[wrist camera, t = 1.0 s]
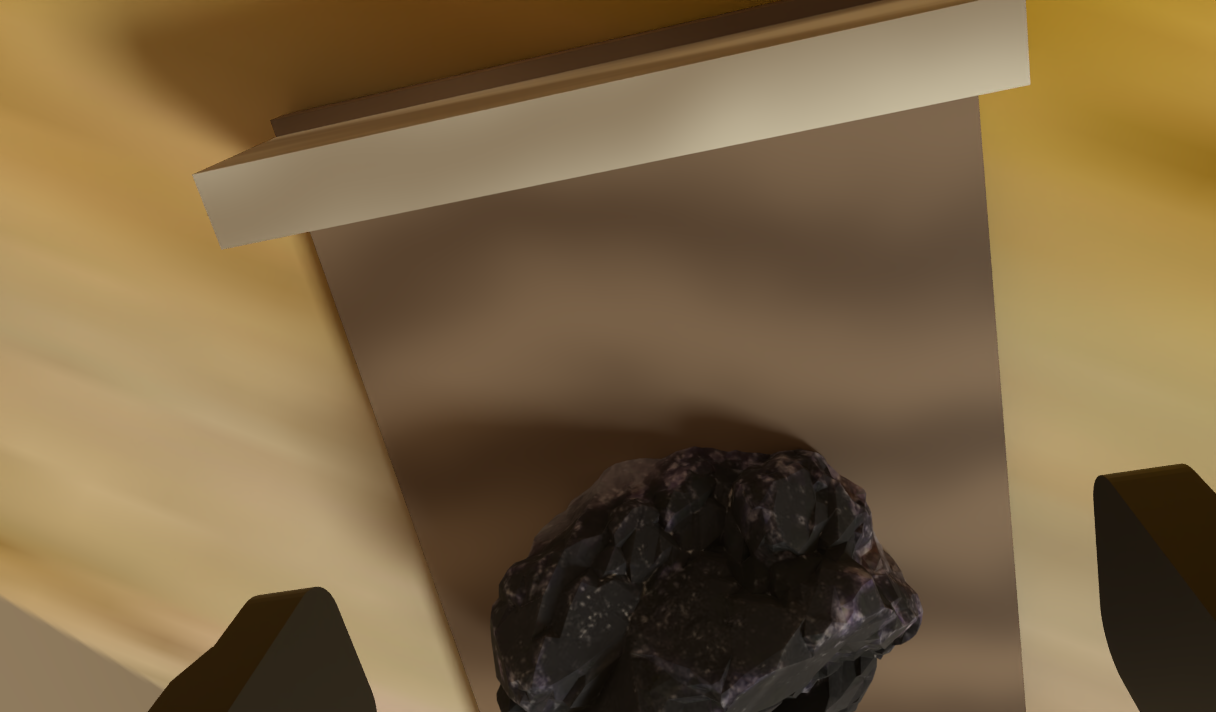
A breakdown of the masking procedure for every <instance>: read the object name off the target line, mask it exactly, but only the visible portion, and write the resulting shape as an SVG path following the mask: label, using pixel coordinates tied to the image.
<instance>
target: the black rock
mask: <svg viewBox="0 0 1216 712" xmlns="http://www.w3.org/2000/svg"><path fill="white" fill-rule="evenodd" d="M922 616H923V608H922V605H921V602H920V599H919V596H918V594H917V593H916V592H915V591H914V590H913V589H912V588H911V587H910V586H909V585H908V584H907V583H906V580H905V578H904V577H903V573H902V571H901V570H900V568H899V567H898V565H897V563H896V562H895V560H894V559H893V558H892V557H891V556H890V555H889V554H888V553H887V552H884V550H883V548H882V545H881V544H880V542H879V541H878V539H877V537H876V535H875V532H874V531H873V523H872V513H871V510H870V508H869V506H868V504H867V502H866V492H865V490H864V489H863V488H862V487H860V486H858V485H856V484H855V483H853V482H852V481H850V480H848V479H847V478H845V477H843V476H841V475H839V474H838V473H837V472H836V471H835V470H834V469H833V468H832V467H831V466H830V465H829V464H827V462H826V460H825V458H824V457H823V456H822V455H820V454H819V453H816V452H812V451H807V450H802V449H797V450H788V451H779V452H776V453H773V454H763V453H750V452H742V451H738V450H733V451H730V452H726V451H721V450H718V449H714V448H701V447H697V446H694V447H690V448H687V449H683V450H679V451H676V452H674V453H672V454H670V455H668V456H667V457H665V458H662V459H651V458H639V459H633V460H627V461H623V462H620V463H616V464H614V465H612V466H611V467H609V468H607V469H606V470H604V472H603V473H602V474H601V476H600V477H599V479H598V480H597V481H596V482H595V483H594V484H593V485H592V486H591V487H590V488H589V489H587V490H586V491H585V492H583V493H582V494H581V495H579V496H578V497H576V498H575V499H573V500H572V501H571V502H570V504H569V506H568V508H567V509H566V511H564V512H562V513H560V514H558V515H556V516H555V517H554V518H553V519H552V520H551V521H550V522H549V523H548V524H546V525H545V526H544V527H543V528H542V529H541V530H540V531H539V533H538V534H537V535H536V536H535V538H534V540H533V543H532V546H531V549H530V552H529V555H528V557H527V558H526V559H524V560H521V561H518V562H516V563H514V564H513V565H512V566H511V567H510V568H509V569H508V570H507V572H506V573H505V575H504V577H503V578H502V580H501V582H500V583H499V598H498V599H497V600H496V601H495V602H494V604H493V605H492V610H491V616H490V630H491V642H492V649H493V657H494V664H495V671H496V678H497V679H498V681H499V682H500V686H499V689H498V691H497V693H496V697H497V702H498V705H499V708H500V711H501V712H854V711H856V709H857V706H858V703H860V702H861V700H862V698H863V696H864V694H865V693H866V691H867V689H868V687H869V686H870V684H871V682H872V680H873V678H874V675H875V671H876V668H877V658H878V659H880V660H881V659H882V657H883V655H885V654H887V653H890V652H891V650H892V649H893V648H894V646H895V645H901V644H903V643H905V642H907V641H909V640H910V639H912V638H913V637H914V636H915V635H916V634H917V632H918V630H919V628H920V625H921V622H922Z"/></svg>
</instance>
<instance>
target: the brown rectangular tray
mask: <svg viewBox="0 0 1216 712" xmlns="http://www.w3.org/2000/svg"><path fill="white" fill-rule="evenodd" d="M1026 85H1030V70H1029V52H1028V35H1027V17H1026V0H781V1H777V2H773V3H768V4H764V5H760V6H755V7H751V8H747V9H742V10H738V11H733V12H729V13H725V14H720V15H716V16H712V17H707V18H703V19H699V20H694V21H690V22H686V23H681V24H677V25H673V26H668V27H664V28H660V29H655V30H651V31H647V32H642V33H638V34H634V35H629V36H625V37H620V38H616V39H612V40H607V41H603V42H599V43H594V44H590V45H586V46H581V47H577V48H573V49H568V50H564V51H560V52H555V53H551V54H547V55H542V56H538V57H534V58H529V59H525V60H520V61H516V62H512V63H507V64H503V65H499V66H494V67H490V68H486V69H481V70H477V71H473V72H468V73H464V74H460V75H455V76H451V77H447V78H442V79H438V80H434V81H429V82H425V83H420V84H416V85H412V86H407V87H403V88H399V89H394V90H390V91H386V92H381V93H377V94H373V95H368V96H364V97H360V98H355V99H351V100H347V101H342V102H338V103H334V104H329V105H325V106H321V107H316V108H312V109H307V110H303V111H299V112H294V113H290V114H286V115H283V116H280V117H278V118H275V119H273V120H270V121H271V124H272V126H273V129H274V132H275V135H276V137H275V138H273V139H271V140H269V141H266V142H264V143H262V144H260V145H257V146H255V147H253V148H251V149H248V150H246V151H244V152H242V153H240V154H237V155H235V156H233V157H231V158H228V159H226V160H224V161H222V162H219V163H217V164H215V165H213V166H210V167H208V168H206V169H204V170H202V171H199V172H197V173H195V174H193V175H192V176H193V178H194V181H195V183H196V186H197V188H198V191H199V193H200V196H201V198H202V201H203V204H204V206H205V209H206V211H207V214H208V216H209V219H210V221H211V224H212V226H213V229H214V232H215V234H216V237H217V239H218V242H219V244H220V247H221V249H227V248H232V247H237V246H241V245H246V244H251V243H256V242H261V241H266V240H271V239H276V238H281V237H286V236H290V235H295V234H300V233H305V232H310V234H311V237H312V239H313V242H314V245H315V248H316V251H317V254H318V256H319V259H320V262H321V265H322V268H323V270H324V273H325V276H326V279H327V282H328V285H329V287H330V290H331V293H332V296H333V299H334V302H335V304H336V307H337V310H338V313H339V316H340V318H341V321H342V324H343V327H344V330H345V333H346V335H347V338H348V341H349V344H350V347H351V350H352V352H353V355H354V358H355V361H356V364H357V366H358V369H359V372H360V375H361V378H362V381H363V383H364V386H365V389H366V392H367V395H368V398H369V400H370V403H371V406H372V409H373V412H374V414H375V417H376V420H377V423H378V426H379V429H380V431H381V434H382V437H383V440H384V443H385V446H386V448H387V451H388V454H389V457H390V460H391V462H392V465H393V468H394V471H395V474H396V477H397V479H398V482H399V485H400V488H401V491H402V494H403V496H404V499H405V502H406V505H407V508H408V510H409V513H410V516H411V519H412V522H413V525H414V527H415V530H416V533H417V536H418V539H419V542H420V544H421V547H422V550H423V553H424V556H425V558H426V561H427V564H428V567H429V570H430V573H431V575H432V578H433V581H434V584H435V587H436V590H437V592H438V595H439V598H440V601H441V604H442V607H443V609H444V612H445V615H446V618H447V621H448V623H449V626H450V629H451V632H452V635H453V638H454V640H455V643H456V646H457V649H458V652H459V655H460V657H461V660H462V663H463V666H464V669H465V671H466V674H467V677H468V680H469V683H470V686H471V688H472V691H473V694H474V697H475V700H476V703H477V705H478V708H479V711H480V712H501V711H500V708H499V705H498V702H497V697H496V693H497V691H498V689H499V686H500V682H499V681H498V679H497V678H496V671H495V664H494V657H493V649H492V642H491V630H490V616H491V610H492V605H493V604H494V602H495V601H496V600H497V599H498V598H499V583H500V582H501V580H502V578H503V577H504V575H505V573H506V572H507V570H508V569H509V568H510V567H511V566H512V565H513V564H514V563H516V562H518V561H521V560H524V559H526V558H527V557H528V555H529V552H530V549H531V546H532V543H533V540H534V538H535V536H536V535H537V534H538V533H539V531H540V530H541V529H542V528H543V527H544V526H545V525H546V524H548V523H549V522H550V521H551V520H552V519H553V518H554V517H555V516H556V515H558V514H560V513H562V512H564V511H566V509H567V508H568V506H569V504H570V502H571V501H572V500H573V499H575V498H576V497H578V496H579V495H581V494H582V493H583V492H585V491H586V490H587V489H589V488H590V487H591V486H592V485H593V484H594V483H595V482H596V481H597V480H598V479H599V477H600V476H601V474H602V473H603V472H604V470H606V469H607V468H609V467H611V466H612V465H614V464H616V463H620V462H623V461H627V460H633V459H639V458H651V459H662V458H665V457H667V456H668V455H670V454H672V453H674V452H676V451H679V450H683V449H687V448H690V447H694V446H697V447H701V448H714V449H718V450H721V451H726V452H730V451H733V450H738V451H742V452H750V453H763V454H773V453H776V452H779V451H788V450H797V449H802V450H807V451H812V452H816V453H819V454H820V455H822V456H823V457H824V458H825V460H826V462H827V464H829V465H830V466H831V467H832V468H833V469H834V470H835V471H836V472H837V473H838V474H839V475H841V476H843V477H845V478H847V479H848V480H850V481H852V482H853V483H855V484H856V485H858V486H860V487H862V488H863V489H864V490H865V492H866V502H867V504H868V506H869V508H870V510H871V513H872V523H873V531H874V532H875V535H876V537H877V539H878V541H879V542H880V544H881V545H882V548H883V550H884V552H887V553H888V554H889V555H890V556H891V557H892V558H893V559H894V560H895V562H896V563H897V565H898V567H899V568H900V570H901V571H902V573H903V577H904V578H905V580H906V583H907V584H908V585H909V586H910V587H911V588H912V589H913V590H914V591H915V592H916V593H917V594H918V596H919V599H920V602H921V605H922V608H923V616H922V622H921V625H920V628H919V630H918V632H917V634H916V635H915V636H914V637H913V638H912V639H910V640H909V641H907V642H905V643H903V644H901V645H895V646H894V648H893V649H892V650H891V652H890V653H887V654H885V655H883V657H882V659H881V660H880V659H878V658H877V668H876V671H875V675H874V678H873V680H872V682H871V684H870V686H869V687H868V689H867V691H866V693H865V694H864V696H863V698H862V700H861V702H860V703H858V706H857V709H856V711H854V712H1026V706H1025V693H1024V680H1023V667H1022V654H1021V641H1020V628H1019V615H1018V603H1017V590H1016V577H1015V564H1014V551H1013V538H1012V525H1011V512H1010V499H1009V486H1008V473H1007V461H1006V448H1005V435H1004V422H1003V409H1002V396H1001V383H1000V370H999V357H998V344H997V331H996V319H995V306H994V293H993V280H992V267H991V254H990V241H989V228H988V215H987V202H986V190H985V177H984V164H983V151H982V138H981V125H980V112H979V99H978V95H982V94H987V93H992V92H997V91H1002V90H1007V89H1011V88H1016V87H1021V86H1026Z"/></svg>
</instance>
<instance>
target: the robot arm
mask: <svg viewBox="0 0 1216 712" xmlns="http://www.w3.org/2000/svg"><path fill="white" fill-rule="evenodd" d="M1093 501H1094V517H1095V532H1096V547H1097V563H1098V578H1099V593H1100V608H1101V616H1102V622H1103V627H1104V632H1105V636H1106V640H1107V643H1108V647H1109V650H1110V653H1111V656H1112V659H1113V661H1114V664H1115V666H1116V668H1117V671H1118V673H1119V675H1120V677H1121V679H1122V681H1123V683H1124V684H1125V686H1126V688H1127V690H1128V691H1129V693H1130V695H1131V697H1132V699H1133V700H1134V702H1135V704H1136V706H1137V707H1138V709H1139V711H1140V712H1216V493H1215V492H1214V491H1213V490H1212V489H1211V488H1210V487H1209V486H1208V485H1207V484H1206V483H1205V482H1204V481H1203V480H1202V478H1201V477H1200V476H1199V475H1198V474H1197V473H1196V472H1195V471H1194V470H1193V469H1192V468H1191V467H1189V466H1188V465H1186V464H1175V465H1168V466H1162V467H1155V468H1148V469H1141V470H1134V471H1127V472H1120V473H1113V474H1106V475H1100V476H1098V477H1097V478H1096V480H1095V483H1094V491H1093ZM148 712H377V710H376V704H375V700H374V696H373V693H372V690H371V688H370V686H369V683H368V681H367V678H366V676H365V673H364V671H363V668H362V666H361V663H360V661H359V658H358V656H357V653H356V651H355V649H354V646H353V644H352V641H351V639H350V636H349V634H348V631H347V629H346V626H345V624H344V621H343V619H342V616H341V614H340V611H339V609H338V607H337V604H336V602H335V600H334V598H333V597H332V595H331V594H330V593H329V592H328V591H327V590H325V589H324V588H321V587H312V588H305V589H298V590H291V591H284V592H277V593H270V594H263V595H257V596H254V597H252V598H251V599H250V600H248V601H247V603H246V604H245V605H244V606H243V608H242V609H241V610H240V612H239V613H238V614H237V616H236V617H235V618H234V620H233V621H232V622H231V624H230V625H229V626H228V628H227V629H226V631H225V632H224V633H223V635H222V636H221V637H220V639H219V640H218V641H217V643H216V644H215V645H214V647H212V648H210V649H209V650H208V651H207V652H206V653H204V654H203V655H202V656H201V657H200V658H198V659H197V660H196V661H195V662H194V663H193V664H191V665H190V666H189V667H188V668H187V669H185V670H184V671H183V672H182V673H181V674H179V675H178V676H177V677H176V678H175V679H173V680H172V681H171V682H170V683H169V685H168V686H167V687H166V689H165V690H164V691H163V692H162V694H161V695H160V697H159V698H158V699H157V700H156V702H155V703H154V704H153V706H152V707H151V708H150V710H149V711H148Z"/></svg>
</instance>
